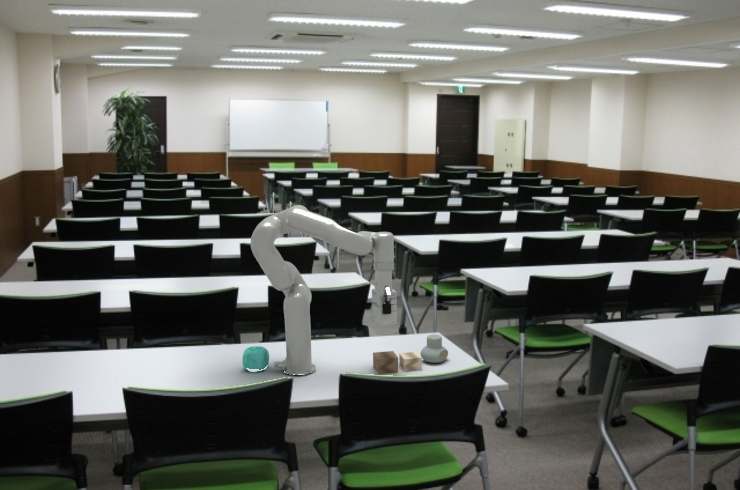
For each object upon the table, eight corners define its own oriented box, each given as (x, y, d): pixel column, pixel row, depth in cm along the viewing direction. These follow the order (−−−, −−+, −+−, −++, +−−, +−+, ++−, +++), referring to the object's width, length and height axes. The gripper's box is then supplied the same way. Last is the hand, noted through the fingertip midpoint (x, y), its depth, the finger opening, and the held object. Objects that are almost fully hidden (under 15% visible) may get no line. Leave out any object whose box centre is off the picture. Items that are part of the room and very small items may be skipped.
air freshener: (435, 366, 280) (435, 342, 278) (417, 362, 285) (417, 338, 283) (450, 359, 288) (450, 334, 287) (432, 355, 293) (432, 331, 291)
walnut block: (377, 374, 273) (377, 359, 272) (373, 367, 281) (372, 352, 280) (398, 372, 275) (398, 357, 274) (393, 365, 282) (393, 350, 281)
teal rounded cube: (262, 373, 276) (261, 353, 275) (242, 372, 278) (241, 352, 276) (269, 366, 284) (268, 346, 282) (250, 365, 285) (249, 345, 284)
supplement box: (371, 321, 276) (370, 288, 274) (389, 318, 279) (388, 286, 277) (379, 326, 269) (379, 293, 267) (397, 323, 272) (397, 290, 270)
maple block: (403, 371, 276) (403, 359, 275) (399, 365, 282) (399, 353, 281) (421, 370, 277) (421, 357, 276) (416, 364, 284) (416, 351, 283)
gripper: (369, 261, 278) (369, 305, 281) (378, 270, 261) (379, 317, 264) (388, 260, 279) (388, 304, 283) (399, 269, 263) (399, 316, 266)
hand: (384, 310), depth 273 cm, fingers closed on supplement box, 8 cm apart
